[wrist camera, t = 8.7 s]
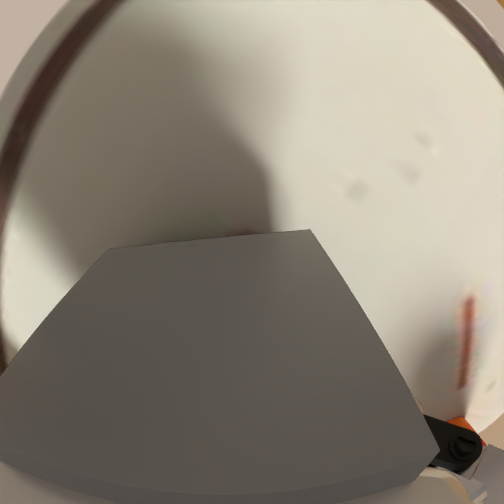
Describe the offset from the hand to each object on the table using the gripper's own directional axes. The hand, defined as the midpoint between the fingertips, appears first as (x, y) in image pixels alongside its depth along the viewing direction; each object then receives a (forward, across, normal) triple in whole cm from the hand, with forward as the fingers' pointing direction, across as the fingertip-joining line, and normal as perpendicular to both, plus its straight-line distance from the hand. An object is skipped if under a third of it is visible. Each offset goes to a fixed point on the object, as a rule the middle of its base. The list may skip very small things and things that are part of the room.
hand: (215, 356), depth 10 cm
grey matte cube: (+2, 0, 0) cm, 2 cm away
